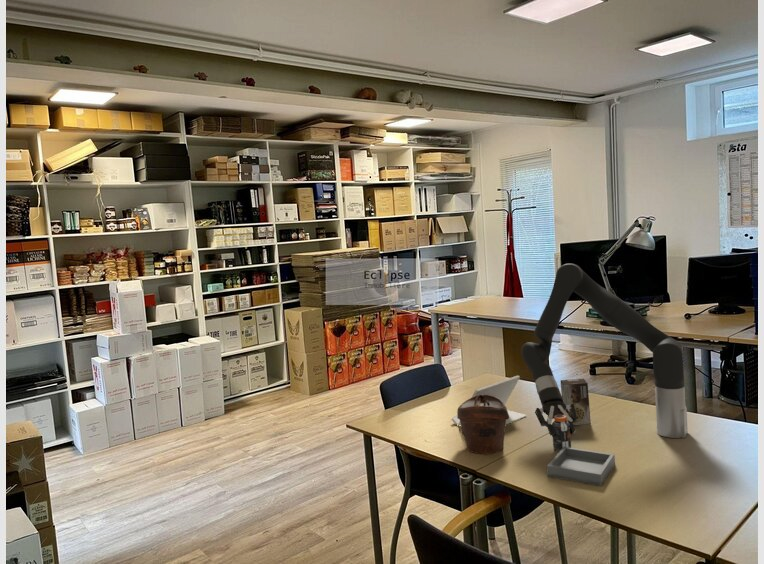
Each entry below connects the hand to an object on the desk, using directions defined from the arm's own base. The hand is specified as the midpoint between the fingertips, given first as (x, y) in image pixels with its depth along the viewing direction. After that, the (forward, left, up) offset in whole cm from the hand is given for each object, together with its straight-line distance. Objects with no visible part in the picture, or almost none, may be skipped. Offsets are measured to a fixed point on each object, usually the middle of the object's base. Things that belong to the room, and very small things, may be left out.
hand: (563, 434), depth 196 cm
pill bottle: (+1, -1, -5) cm, 6 cm away
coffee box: (+4, -27, -6) cm, 28 cm away
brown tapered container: (+26, +8, -6) cm, 28 cm away
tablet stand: (+36, -18, -6) cm, 41 cm away
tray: (-10, +14, -5) cm, 18 cm away
